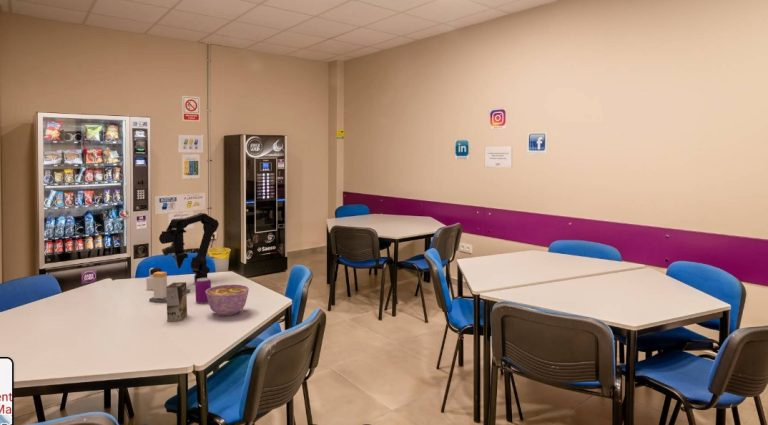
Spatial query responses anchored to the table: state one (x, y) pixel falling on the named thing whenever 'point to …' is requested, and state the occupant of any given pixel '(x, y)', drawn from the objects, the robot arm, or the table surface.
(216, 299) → the bowl of food
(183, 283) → the coffee box
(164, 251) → the robot arm
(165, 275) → the fader knob
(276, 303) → the table surface
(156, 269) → the medicine bottle
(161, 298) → the board
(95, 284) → the table surface
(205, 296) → the beverage can
